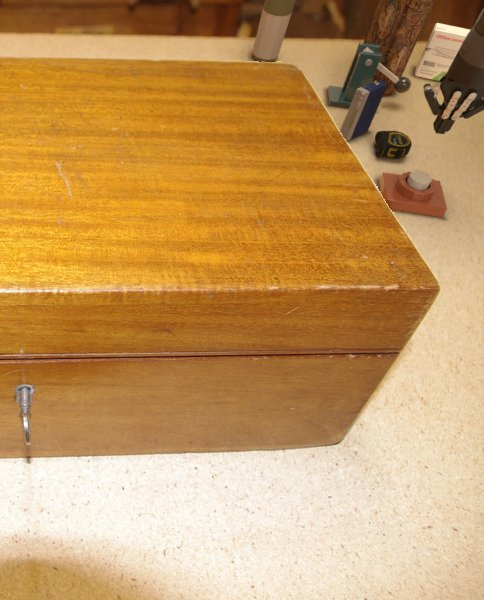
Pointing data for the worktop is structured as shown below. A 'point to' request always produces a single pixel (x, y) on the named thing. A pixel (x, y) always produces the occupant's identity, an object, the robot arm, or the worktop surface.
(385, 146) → the tape measure
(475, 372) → the worktop surface
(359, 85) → the bracket
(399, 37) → the tree bark piece
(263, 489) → the worktop surface
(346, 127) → the cassette player
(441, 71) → the white cardboard box
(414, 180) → the flush button
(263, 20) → the bottle
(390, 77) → the flush lever
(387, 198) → the block
